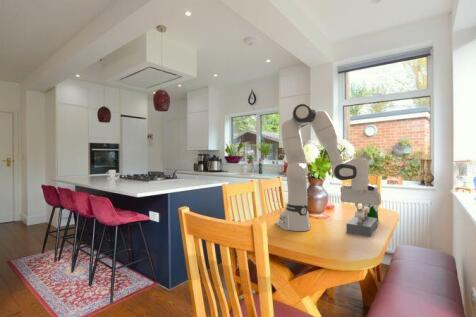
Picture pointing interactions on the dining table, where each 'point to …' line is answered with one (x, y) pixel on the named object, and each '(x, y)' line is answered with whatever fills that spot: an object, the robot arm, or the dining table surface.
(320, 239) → the dining table surface
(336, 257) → the dining table surface
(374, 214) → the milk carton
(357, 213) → the white knob
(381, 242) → the dining table surface
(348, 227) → the console
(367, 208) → the white knob
